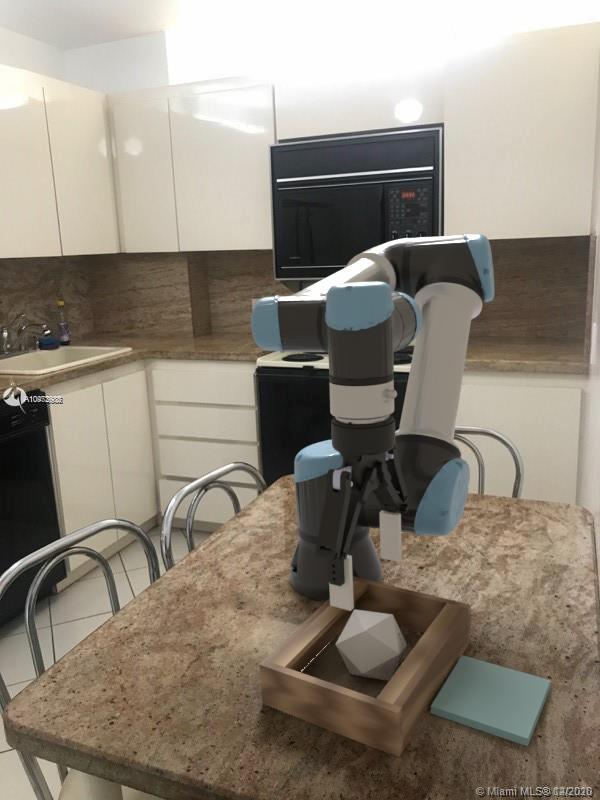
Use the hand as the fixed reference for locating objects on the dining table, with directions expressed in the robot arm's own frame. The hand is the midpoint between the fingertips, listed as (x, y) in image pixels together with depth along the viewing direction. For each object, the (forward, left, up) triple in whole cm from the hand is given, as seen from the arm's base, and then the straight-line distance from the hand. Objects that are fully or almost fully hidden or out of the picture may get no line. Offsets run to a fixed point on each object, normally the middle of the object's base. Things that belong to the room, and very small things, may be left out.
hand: (368, 581), depth 82 cm
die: (0, 0, -13) cm, 13 cm away
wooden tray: (0, 0, -13) cm, 13 cm away
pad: (+15, +2, -13) cm, 20 cm away
